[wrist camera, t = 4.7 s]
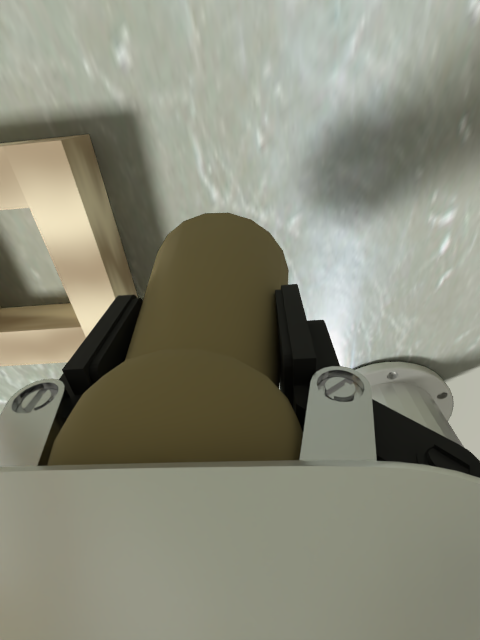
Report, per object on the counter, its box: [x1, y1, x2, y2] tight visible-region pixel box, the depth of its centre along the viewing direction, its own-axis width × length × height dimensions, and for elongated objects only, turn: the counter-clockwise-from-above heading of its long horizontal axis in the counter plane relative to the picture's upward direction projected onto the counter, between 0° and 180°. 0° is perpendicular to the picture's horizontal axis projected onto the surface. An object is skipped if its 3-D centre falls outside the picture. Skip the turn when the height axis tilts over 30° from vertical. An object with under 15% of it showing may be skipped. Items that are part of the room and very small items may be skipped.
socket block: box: [0, 134, 138, 366], centre depth 22 cm, size 14×14×4 cm
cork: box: [47, 213, 303, 466], centre depth 10 cm, size 6×6×11 cm
